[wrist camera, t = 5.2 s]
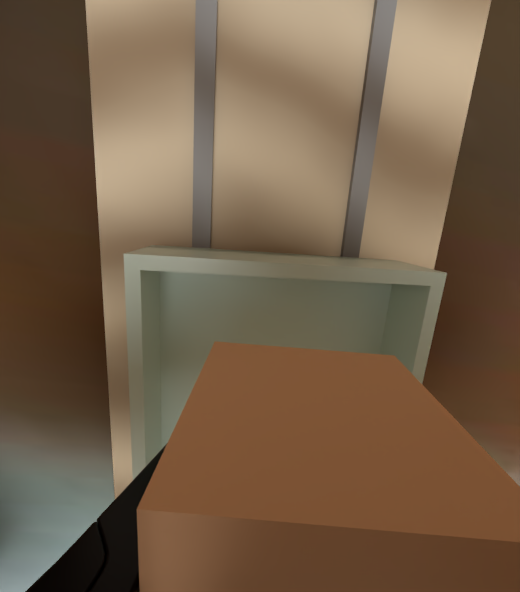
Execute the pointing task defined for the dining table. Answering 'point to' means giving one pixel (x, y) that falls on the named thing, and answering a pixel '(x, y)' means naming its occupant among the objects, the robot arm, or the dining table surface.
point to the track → (272, 135)
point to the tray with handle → (259, 318)
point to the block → (323, 484)
